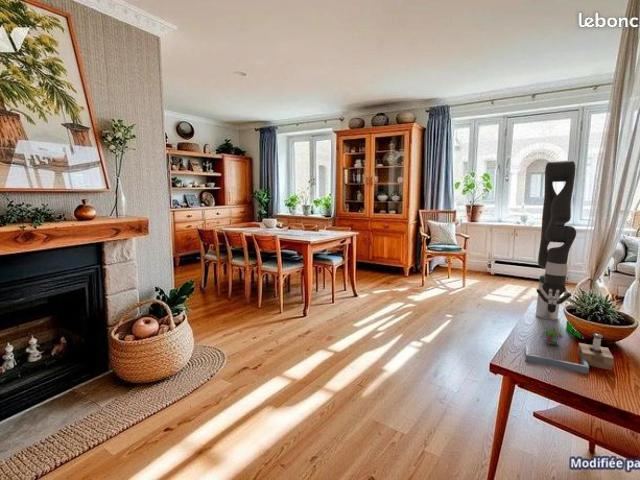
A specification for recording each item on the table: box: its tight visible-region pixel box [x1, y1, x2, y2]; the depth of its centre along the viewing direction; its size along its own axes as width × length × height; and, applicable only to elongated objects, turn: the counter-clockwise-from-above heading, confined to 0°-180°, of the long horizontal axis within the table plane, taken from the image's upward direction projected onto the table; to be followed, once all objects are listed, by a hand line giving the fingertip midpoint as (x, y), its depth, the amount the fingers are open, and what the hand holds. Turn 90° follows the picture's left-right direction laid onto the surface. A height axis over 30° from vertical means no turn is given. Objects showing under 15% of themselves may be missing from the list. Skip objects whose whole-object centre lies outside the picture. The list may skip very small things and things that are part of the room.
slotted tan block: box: [576, 342, 615, 371], centre depth 133 cm, size 9×9×4 cm
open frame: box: [524, 343, 590, 375], centre depth 133 cm, size 10×19×2 cm, turn 62°
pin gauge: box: [592, 333, 603, 353], centre depth 132 cm, size 3×3×11 cm
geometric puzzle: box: [540, 327, 563, 347], centre depth 146 cm, size 7×7×8 cm
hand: (551, 312), depth 153 cm, fingers closed
